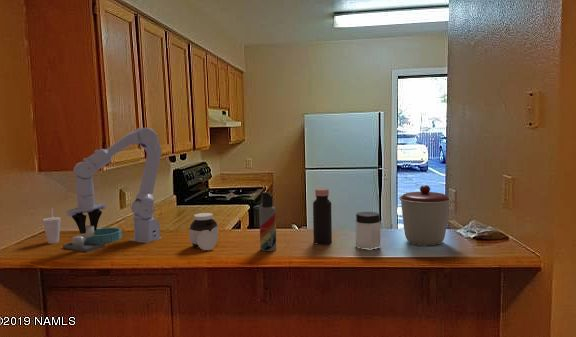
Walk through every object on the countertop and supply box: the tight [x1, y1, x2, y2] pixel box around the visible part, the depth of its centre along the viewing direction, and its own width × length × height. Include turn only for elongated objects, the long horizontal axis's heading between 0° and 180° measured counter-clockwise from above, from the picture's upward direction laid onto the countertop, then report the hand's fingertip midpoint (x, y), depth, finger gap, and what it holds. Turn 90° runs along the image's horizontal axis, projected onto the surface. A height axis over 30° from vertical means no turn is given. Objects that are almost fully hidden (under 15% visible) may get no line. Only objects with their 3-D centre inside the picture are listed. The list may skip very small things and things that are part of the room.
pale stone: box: [81, 224, 95, 238], centre depth 155 cm, size 4×4×4 cm
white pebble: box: [71, 235, 85, 247], centre depth 159 cm, size 4×4×4 cm
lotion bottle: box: [258, 193, 277, 252], centre depth 150 cm, size 6×6×20 cm
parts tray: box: [62, 240, 106, 253], centre depth 157 cm, size 13×7×2 cm, turn 62°
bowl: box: [84, 227, 123, 244], centre depth 169 cm, size 13×13×4 cm
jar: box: [355, 211, 381, 249], centre depth 150 cm, size 9×8×12 cm
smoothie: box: [42, 207, 62, 244], centre depth 165 cm, size 6×6×14 cm
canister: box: [398, 184, 452, 246], centre depth 154 cm, size 18×18×21 cm
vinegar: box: [312, 188, 333, 245], centre depth 157 cm, size 7×7×20 cm
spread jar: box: [189, 212, 219, 251], centre depth 155 cm, size 12×11×12 cm
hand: (88, 231), depth 155 cm, fingers closed on pale stone, 4 cm apart
